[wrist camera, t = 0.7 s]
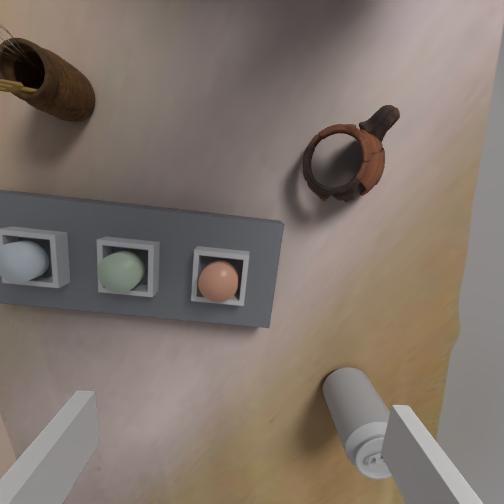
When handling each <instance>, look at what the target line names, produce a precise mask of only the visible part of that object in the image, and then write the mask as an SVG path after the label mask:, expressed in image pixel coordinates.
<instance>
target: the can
mask: <svg viewBox="0 0 504 504" xmlns="http://www.w3.org/2000/svg"><path fill="white" fill-rule="evenodd" d="M323 394H324V397H325V400H326V403H327V405H328V408H329V411H330V413H331V416H332V419H333V421H334V424H335V427H336V429H337V432H338V435H339V437H340V440H341V442H342V445H343V448H344V450H345V453H346V456H347V458H348V459H349V461H350V462H351V463H352V464H353V465H355V466H356V467H357V469H358V470H359V472H360V473H361V474H363V475H364V476H366V477H368V478H372V479H385V478H389V477H392V475H391V473H390V471H389V469H388V467H387V465H386V463H385V461H384V459H383V457H382V455H381V449H382V445H383V441H384V436H385V432H386V428H387V424H388V420H389V416H390V411H389V410H388V408H387V407H386V405H385V404H384V402H383V401H382V399H381V398H380V396H379V394H378V393H377V391H376V390H375V388H374V387H373V385H372V384H371V382H370V381H369V379H368V378H367V376H366V375H365V374H364V373H363V372H362V371H360V370H359V369H355V368H341V369H338V370H336V371H334V372H333V373H331V374H330V375H329V376H328V377H327V378H326V380H325V382H324V384H323Z"/></svg>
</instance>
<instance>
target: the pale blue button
mask: <svg viewBox="0 0 504 504" xmlns="http://www.w3.org/2000/svg"><path fill="white" fill-rule="evenodd" d="M48 267H49V257H48V255H47V253H46V251H45V250H44V249H43V248H42V247H41V246H40V245H39V244H37V243H35V242H33V241H28V240H23V241H18V242H13V243H9V244H4V245H1V246H0V276H1V277H2V278H4V279H5V280H7V281H10V282H13V283H23V282H26V281H29V280H31V279H34V278H36V277H38V276H41V275H43V274H44V273H45V272H46V271H47V269H48Z"/></svg>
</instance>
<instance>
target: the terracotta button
mask: <svg viewBox="0 0 504 504" xmlns="http://www.w3.org/2000/svg"><path fill="white" fill-rule="evenodd" d="M237 286H238V273H237V271H236V269H235V268H234V266H233V265H231V264H230V263H228V262H226V261H222V260H217V261H213V262H211V263H209V264H208V265H206V266H205V268H204V269H203V271H202V273H201V274H200V277H199V280H198V287H199V290H200V292H201V294H202V295H203V296H204V297H205V298H206V299H208V300H210V301H213V302H224V301H227V300H229V299H230V298H231V297H233V295H234V294H235V293H236V290H237Z"/></svg>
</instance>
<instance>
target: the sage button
mask: <svg viewBox="0 0 504 504" xmlns="http://www.w3.org/2000/svg"><path fill="white" fill-rule="evenodd" d="M97 275H98V278H99V281H100V282H101V284H102V285H103V286H104V287H105V288H107V289H108V290H110V291H112V292H116V293H124V292H127V291H129V290H131V289H132V288H134V287H135V286H136V285H137V284H138V283H140V282H141V281H142V279H143V278H144V275H145V266H144V263H143V261H142V259H141V258H140V257H139V256H138V255H136V254H135V253H133V252H130V251H124V250H123V251H118V252H116V253H113V254H111V255H109V256H107V257H105V258H104V259H102V260H101V262H100V263H99V265H98V268H97Z"/></svg>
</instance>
